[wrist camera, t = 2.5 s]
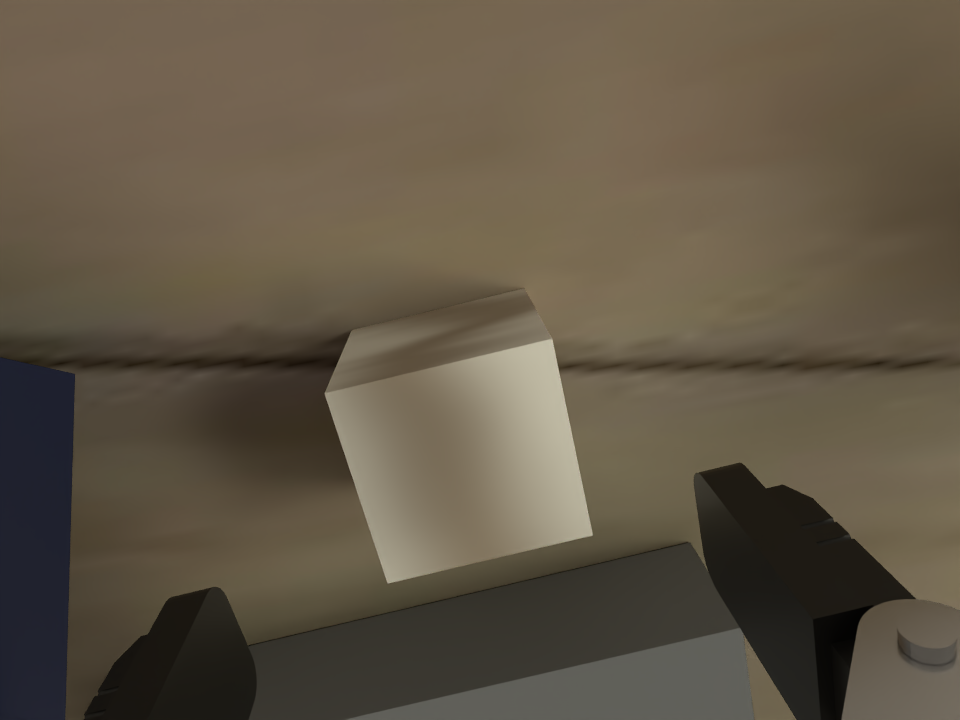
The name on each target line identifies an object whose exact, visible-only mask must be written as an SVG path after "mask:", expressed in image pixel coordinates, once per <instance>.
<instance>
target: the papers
mask: <svg viewBox="0 0 960 720" xmlns="http://www.w3.org/2000/svg"><path fill="white" fill-rule="evenodd" d="M74 390H75V374H73V373H68V372H64V371H59V370H55V369H50V368H46V367H41V366H37V365H32V364H28V363H23V362H19V361H14V360H10V359H5V358H0V720H65V708H66V673H67V637H68V602H69V567H70V531H71V496H72V461H73V425H74Z"/></svg>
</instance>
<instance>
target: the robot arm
mask: <svg viewBox="0 0 960 720" xmlns="http://www.w3.org/2000/svg"><path fill="white" fill-rule="evenodd" d="M694 489H695V496H696V504H697V511H698V518H699V525H700V532H701V539H702V546H703V553H704V557H705V561H706V565H707V568H708V571H709V574H710V577H711V579H712V582H713V584H714V586H715V588H716V590H717V592H718V593H719V595H720V596H721V598H722V600H723V601H724V603H725V605H726V606H727V608H728V609H729V611H730V613H731V614H732V616H733V617H734V619H735V621H736V622H737V624H738V626H739V627H740V629H741V630H742V632H743V634H744V635H745V637H746V639H747V640H748V642H749V643H750V645H751V647H752V648H753V650H754V651H755V653H756V655H757V656H758V658H759V660H760V661H761V663H762V664H763V666H764V668H765V669H766V671H767V673H768V674H769V676H770V677H771V679H772V681H773V682H774V684H775V685H776V687H777V689H778V690H779V692H780V694H781V695H782V697H783V698H784V700H785V702H786V703H787V705H788V707H789V708H790V710H791V711H792V713H793V715H794V716H795V718H796V719H797V720H960V610H957V609H955V608H953V607H950V606H947V605H944V604H940V603H936V602H931V601H925V600H918V599H916V598H915V597H914V596H912V595H911V594H910V593H909V592H908V591H907V590H906V589H905V588H904V587H903V586H902V585H901V584H900V583H899V582H898V581H897V580H896V579H895V578H894V577H893V576H892V575H891V574H890V573H889V572H888V571H887V570H886V569H885V568H884V567H883V566H882V565H881V564H880V563H879V562H878V561H877V560H875V559H874V558H873V557H872V556H871V555H870V554H869V553H868V552H867V551H866V550H865V549H864V548H863V547H862V546H861V545H860V544H859V543H858V542H857V541H856V540H855V539H851V537H850V534H849V533H848V532H847V531H846V530H845V529H844V528H843V527H842V526H841V525H840V524H838V523H837V522H834V521H833V518H832V517H831V516H830V515H829V514H828V513H827V512H826V511H825V510H824V509H823V508H822V507H821V506H820V505H819V504H818V503H817V502H816V501H815V500H814V499H813V498H811V497H809V496H806V495H804V494H802V493H800V492H798V491H796V490H793V489H791V488H789V487H787V486H785V485H779V486H775V487H771V488H765V487H764V486H763V485H762V484H761V483H760V482H759V480H758V479H757V478H756V477H755V476H754V475H753V474H752V473H751V472H750V471H749V470H748V469H747V468H746V466H744V465H743V464H742V463H736V464H732V465H728V466H724V467H720V468H715V469H711V470H707V471H703V472H699V473H696V474H695V475H694ZM256 689H257V676H256V668H255V664H254V660H253V657H252V655H251V652H250V650H249V648H248V645H247V643H246V641H245V638H244V636H243V634H242V631H241V629H240V627H239V625H238V622H237V620H236V618H235V615H234V613H233V611H232V608H231V606H230V604H229V601H228V599H227V597H226V595H225V593H224V592H223V591H222V590H221V589H220V588H218V587H212V588H208V589H204V590H199V591H195V592H191V593H187V594H183V595H178V596H174V597H171V598H169V599H168V600H167V601H166V603H165V604H164V606H163V608H162V610H161V611H160V613H159V615H158V617H157V619H156V620H155V622H154V624H153V626H152V628H151V630H150V631H149V633H148V635H144V636H141V637H140V638H139V639H138V640H137V641H136V642H135V643H134V644H133V645H132V646H131V647H130V648H129V649H128V650H127V651H126V652H125V653H124V654H123V655H122V656H121V657H120V658H119V659H118V660H117V661H116V662H115V663H114V665H113V666H112V668H111V670H110V671H109V673H108V675H107V677H106V678H105V680H104V682H103V683H102V685H101V687H100V688H99V690H98V693H99V694H98V696H95V697H94V699H93V700H92V702H91V704H90V705H89V707H88V709H87V711H86V712H85V714H84V715H85V719H84V720H249V717H250V714H251V711H252V707H253V704H254V701H255V697H256Z"/></svg>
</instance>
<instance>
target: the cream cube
mask: <svg viewBox="0 0 960 720" xmlns="http://www.w3.org/2000/svg"><path fill="white" fill-rule="evenodd" d="M324 394H325V397H326V400H327V403H328V406H329V409H330V412H331V415H332V418H333V421H334V424H335V427H336V430H337V433H338V436H339V439H340V442H341V445H342V448H343V451H344V454H345V457H346V460H347V463H348V466H349V469H350V472H351V475H352V478H353V481H354V484H355V487H356V490H357V493H358V496H359V499H360V502H361V505H362V508H363V511H364V514H365V517H366V520H367V523H368V526H369V529H370V532H371V535H372V538H373V541H374V544H375V547H376V550H377V553H378V556H379V559H380V562H381V565H382V568H383V571H384V574H385V577H386V580H387V583H392V582H396V581H401V580H405V579H409V578H414V577H418V576H422V575H426V574H431V573H435V572H439V571H443V570H448V569H452V568H456V567H460V566H465V565H469V564H473V563H477V562H482V561H486V560H490V559H494V558H499V557H503V556H507V555H511V554H516V553H520V552H524V551H529V550H533V549H537V548H541V547H546V546H550V545H554V544H558V543H563V542H567V541H571V540H575V539H580V538H584V537H588V536H592V535H593V533H592V528H591V524H590V519H589V514H588V509H587V504H586V500H585V495H584V490H583V485H582V480H581V476H580V471H579V466H578V461H577V456H576V451H575V447H574V442H573V437H572V432H571V427H570V423H569V418H568V413H567V408H566V403H565V399H564V394H563V389H562V384H561V379H560V374H559V370H558V365H557V360H556V355H555V350H554V346H553V341H552V338H551V336H550V334H549V332H548V330H547V329H546V327H545V325H544V323H543V321H542V319H541V318H540V316H539V314H538V312H537V310H536V309H535V307H534V305H533V303H532V301H531V299H530V298H529V296H528V294H527V292H526V290H525V288H523V289H519V290H515V291H511V292H507V293H503V294H498V295H494V296H490V297H486V298H482V299H478V300H474V301H470V302H465V303H461V304H457V305H453V306H449V307H445V308H441V309H437V310H432V311H428V312H424V313H420V314H416V315H412V316H408V317H404V318H399V319H395V320H391V321H387V322H383V323H379V324H375V325H371V326H366V327H362V328H358V329H354V330H352V331H351V333H350V335H349V338H348V340H347V342H346V345H345V347H344V349H343V352H342V354H341V356H340V359H339V361H338V363H337V366H336V368H335V370H334V372H333V375H332V377H331V379H330V382H329V384H328V386H327V389H326V391H325V393H324Z"/></svg>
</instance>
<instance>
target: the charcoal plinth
mask: <svg viewBox="0 0 960 720" xmlns="http://www.w3.org/2000/svg"><path fill="white" fill-rule="evenodd" d="M248 648H249V650H250V652H251V655H252V657H253V660H254V664H255V668H256V676H257V689H256V697H255V701H254V704H253V707H252V711H251V714H250V717H249V720H754V713H753V706H752V698H751V690H750V683H749V675H748V667H747V660H746V652H745V644H744V637H743V632H742V630H741V629H740V627H739V626H738V624H737V622H736V621H735V619H734V617H733V616H732V614H731V613H730V611H729V609H728V608H727V606H726V605H725V603H724V601H723V600H722V598H721V596H720V595H719V593H718V592H717V590H716V588H715V586H714V584H713V582H712V579H711V577H710V574H709V572H708V571H707V569H706V567H705V566H704V564H703V563H702V561H701V559H700V558H699V556H698V554H697V553H696V551H695V550H694V548H693V546H692V545H691V543H686V544H681V545H677V546H673V547H669V548H664V549H660V550H656V551H652V552H647V553H643V554H639V555H634V556H630V557H626V558H622V559H617V560H613V561H609V562H605V563H600V564H596V565H592V566H588V567H583V568H579V569H575V570H571V571H566V572H562V573H558V574H553V575H549V576H545V577H541V578H536V579H532V580H528V581H524V582H519V583H515V584H511V585H507V586H502V587H498V588H494V589H490V590H485V591H481V592H477V593H472V594H468V595H464V596H460V597H455V598H451V599H447V600H443V601H438V602H434V603H430V604H426V605H421V606H417V607H413V608H409V609H404V610H400V611H396V612H391V613H387V614H383V615H379V616H374V617H370V618H366V619H362V620H357V621H353V622H349V623H345V624H340V625H336V626H332V627H328V628H323V629H319V630H315V631H310V632H306V633H302V634H298V635H293V636H289V637H285V638H281V639H276V640H272V641H268V642H264V643H259V644H255V645H251V646H248Z"/></svg>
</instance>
